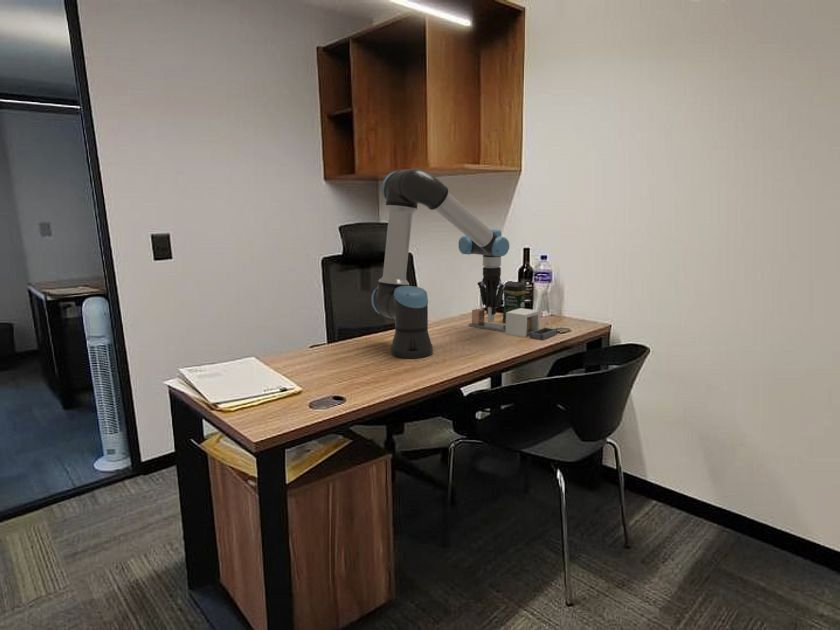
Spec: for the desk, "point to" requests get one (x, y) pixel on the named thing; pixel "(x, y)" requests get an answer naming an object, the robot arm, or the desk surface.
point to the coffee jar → (514, 297)
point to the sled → (479, 323)
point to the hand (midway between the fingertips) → (490, 321)
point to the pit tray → (543, 333)
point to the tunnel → (521, 321)
